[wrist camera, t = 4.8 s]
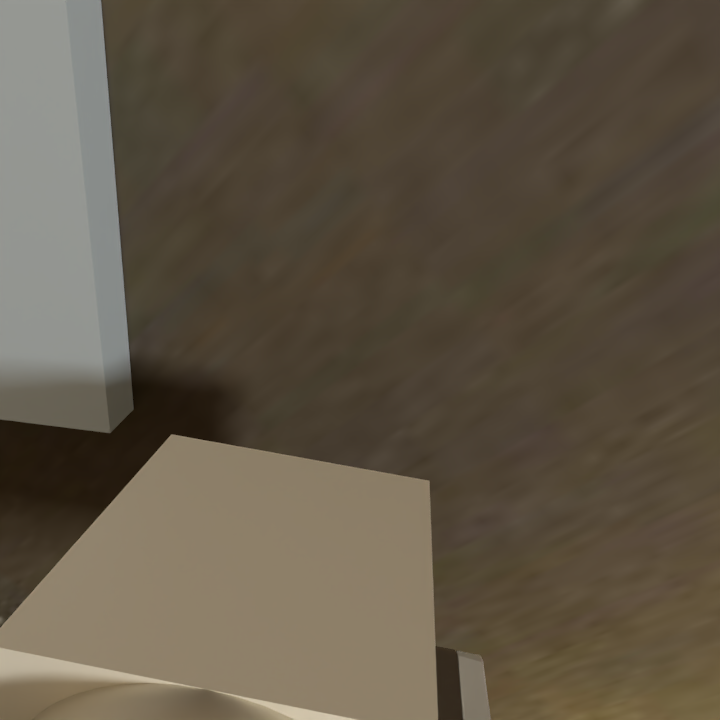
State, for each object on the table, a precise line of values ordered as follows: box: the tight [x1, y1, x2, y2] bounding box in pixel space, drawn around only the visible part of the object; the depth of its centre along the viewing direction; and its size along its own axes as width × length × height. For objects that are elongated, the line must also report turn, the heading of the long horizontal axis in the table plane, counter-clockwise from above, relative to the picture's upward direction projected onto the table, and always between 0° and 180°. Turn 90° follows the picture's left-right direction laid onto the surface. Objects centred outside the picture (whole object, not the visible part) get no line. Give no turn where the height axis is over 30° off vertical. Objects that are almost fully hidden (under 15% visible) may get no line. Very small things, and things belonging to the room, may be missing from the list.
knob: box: [0, 434, 438, 720], centre depth 10 cm, size 6×6×7 cm
